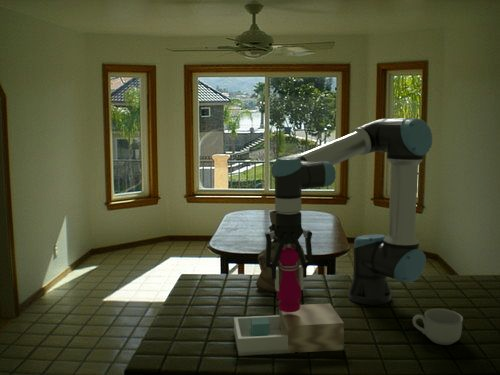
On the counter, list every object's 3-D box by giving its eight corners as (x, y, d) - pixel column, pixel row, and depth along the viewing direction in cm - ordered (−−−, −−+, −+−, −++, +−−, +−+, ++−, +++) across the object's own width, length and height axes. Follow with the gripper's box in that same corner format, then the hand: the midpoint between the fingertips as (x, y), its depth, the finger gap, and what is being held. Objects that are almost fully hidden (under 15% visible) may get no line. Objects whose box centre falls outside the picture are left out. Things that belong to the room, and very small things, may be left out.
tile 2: (267, 326, 163) (267, 317, 163) (269, 333, 158) (269, 323, 158) (250, 327, 163) (250, 318, 162) (252, 334, 158) (252, 324, 157)
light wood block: (329, 327, 172) (329, 303, 171) (343, 349, 156) (343, 323, 155) (279, 330, 170) (279, 305, 169) (288, 353, 154) (287, 325, 153)
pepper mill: (300, 313, 157) (299, 245, 154) (275, 312, 159) (274, 245, 156) (302, 304, 164) (302, 239, 161) (279, 303, 166) (278, 239, 163)
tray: (279, 330, 170) (279, 315, 170) (288, 353, 154) (287, 336, 154) (234, 332, 169) (233, 317, 168) (238, 355, 153) (238, 338, 152)
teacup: (461, 336, 165) (462, 310, 164) (462, 351, 155) (463, 323, 154) (413, 330, 169) (413, 305, 168) (411, 344, 159) (412, 318, 158)
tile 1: (249, 327, 163) (249, 336, 164) (251, 333, 158) (251, 343, 159) (265, 326, 164) (265, 335, 164) (268, 332, 159) (268, 342, 159)
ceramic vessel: (241, 288, 211) (240, 211, 207) (283, 277, 224) (283, 205, 220) (273, 301, 196) (272, 219, 192) (316, 289, 209) (316, 212, 205)
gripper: (318, 207, 162) (318, 283, 165) (253, 210, 160) (254, 286, 163) (324, 212, 154) (324, 291, 158) (256, 215, 152) (257, 295, 156)
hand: (289, 288), depth 160 cm, fingers closed on pepper mill, 6 cm apart
